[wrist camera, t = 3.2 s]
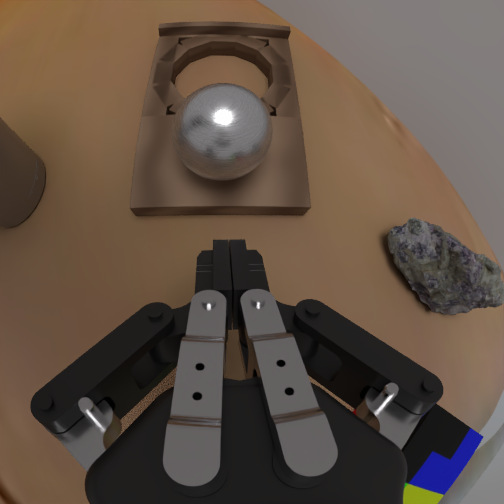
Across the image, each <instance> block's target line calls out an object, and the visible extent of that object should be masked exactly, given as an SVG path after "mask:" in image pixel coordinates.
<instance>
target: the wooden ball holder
mask: <svg viewBox="0 0 504 504" xmlns="http://www.w3.org/2000/svg"><path fill="white" fill-rule="evenodd" d="M289 35H290V27H287V26H279V25H269V24H258V23H243V22H179V23H164V24H160V25H159V36H160V37H159V41H158V44H157V48H156V52H155V56H154V60H153V64H152V68H151V72H150V77H149V81H148V86H147V91H146V95H145V100H144V106H143V111H142V116H141V122H140V128H139V134H138V141H137V147H136V154H135V162H134V170H133V178H132V188H131V198H130V209H131V210H132V211H133V213H134V214H135V215H136V216H157V215H304V214H305V213H306V212H307V211H308V210H309V209H310V208H311V204H310V193H309V183H308V173H307V164H306V155H305V147H304V139H303V131H302V123H301V116H300V109H299V102H298V95H297V89H296V82H295V76H294V70H293V64H292V58H291V53H290V47H289V42H288V38H289ZM210 55H234V56H237V57H240V58H242V59H245V60H247V61H249V62H252V63H254V64H256V65H257V67H258V68H259V69H260V70H261V71H262V72H263V73H264V74H265V75H266V77H267V78H268V84H269V89H268V90H267V91H266V93H265V94H264V95H263V97H262V98H261V100H262V101H263V103H264V104H265V106H266V107H267V109H268V111H269V113H270V116H271V120H272V125H273V136H272V142H271V145H270V148H269V150H268V152H267V154H266V156H265V158H264V159H263V161H262V162H261V163H260V164H259V165H258V166H257V167H256V168H255V169H253V170H252V171H251V172H249V173H247V174H246V175H244V176H241V177H239V178H236V179H231V180H222V181H220V180H211V179H207V178H204V177H201V176H199V175H197V174H195V173H194V172H192V171H191V170H190V169H188V168H187V167H186V166H185V165H184V164H183V163H182V161H181V160H180V158H179V157H178V155H177V153H176V151H175V149H174V145H173V141H172V124H173V120H174V117H175V114H176V112H177V110H178V108H179V107H180V105H181V104H182V103H183V101H184V100H185V98H182V96H181V95H180V93H179V92H178V90H177V89H176V87H175V86H174V84H175V77H176V76H177V75H178V74H179V73H180V72H181V71H182V70H183V69H184V68H185V67H186V66H187V65H188V64H189V63H190V62H193V61H196V60H198V59H201V58H204V57H207V56H210Z"/></svg>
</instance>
